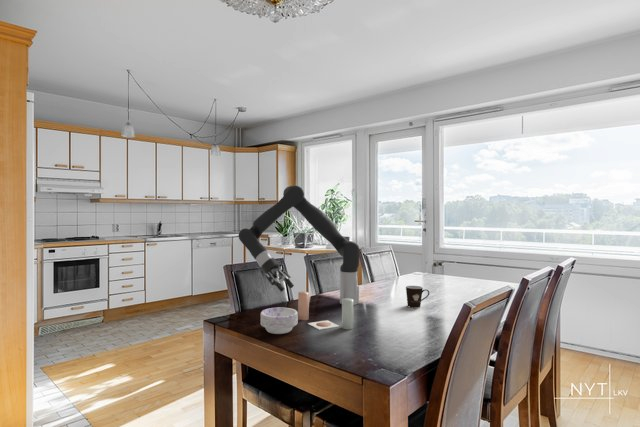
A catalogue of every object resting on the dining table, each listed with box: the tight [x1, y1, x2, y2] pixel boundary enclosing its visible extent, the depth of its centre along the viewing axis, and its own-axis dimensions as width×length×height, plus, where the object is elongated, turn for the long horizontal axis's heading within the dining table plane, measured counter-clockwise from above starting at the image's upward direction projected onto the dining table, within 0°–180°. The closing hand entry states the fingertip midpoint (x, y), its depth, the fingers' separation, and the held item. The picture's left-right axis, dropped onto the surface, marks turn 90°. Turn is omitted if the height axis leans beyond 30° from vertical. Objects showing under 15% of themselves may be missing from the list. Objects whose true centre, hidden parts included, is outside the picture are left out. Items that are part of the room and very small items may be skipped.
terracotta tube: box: [297, 291, 310, 321], centre depth 182 cm, size 5×5×12 cm
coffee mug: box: [405, 285, 430, 308], centre depth 207 cm, size 12×9×10 cm
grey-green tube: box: [341, 298, 354, 331], centre depth 168 cm, size 5×5×12 cm
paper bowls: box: [260, 306, 299, 335], centre depth 164 cm, size 15×15×8 cm
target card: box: [307, 319, 340, 331], centre depth 172 cm, size 10×10×1 cm
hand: (287, 288), depth 185 cm, fingers open, 8 cm apart
